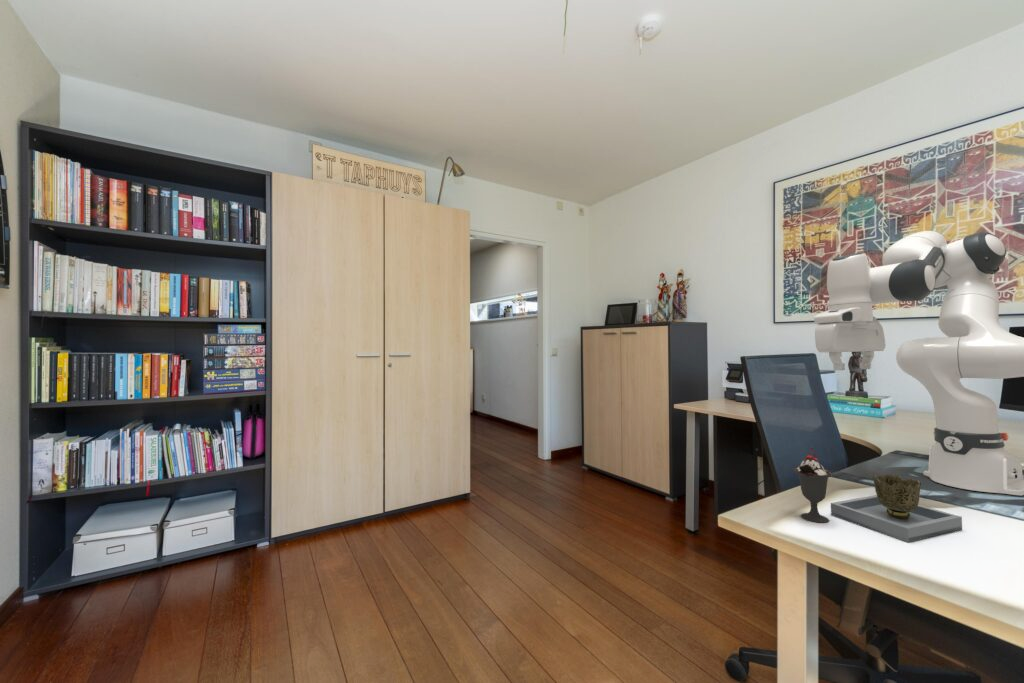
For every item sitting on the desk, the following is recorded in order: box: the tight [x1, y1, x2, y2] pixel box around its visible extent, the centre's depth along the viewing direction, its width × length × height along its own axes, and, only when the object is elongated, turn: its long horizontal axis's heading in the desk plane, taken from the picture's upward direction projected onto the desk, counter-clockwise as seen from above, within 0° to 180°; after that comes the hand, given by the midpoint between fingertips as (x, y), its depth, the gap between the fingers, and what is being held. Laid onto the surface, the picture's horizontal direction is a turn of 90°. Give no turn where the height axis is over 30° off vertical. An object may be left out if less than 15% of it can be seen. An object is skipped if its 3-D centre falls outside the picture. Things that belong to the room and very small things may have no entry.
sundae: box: [793, 446, 833, 524], centre depth 89 cm, size 7×7×15 cm
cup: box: [872, 473, 922, 519], centre depth 86 cm, size 8×7×8 cm
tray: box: [830, 494, 963, 544], centre depth 86 cm, size 16×14×3 cm
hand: (852, 369), depth 105 cm, fingers open, 8 cm apart
